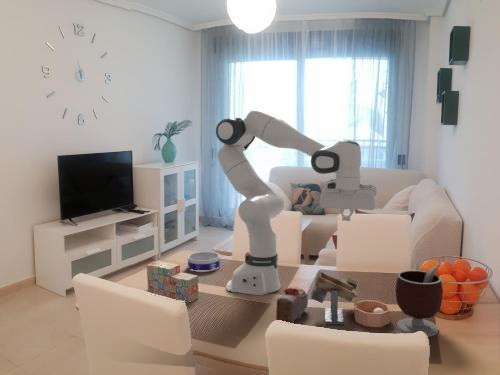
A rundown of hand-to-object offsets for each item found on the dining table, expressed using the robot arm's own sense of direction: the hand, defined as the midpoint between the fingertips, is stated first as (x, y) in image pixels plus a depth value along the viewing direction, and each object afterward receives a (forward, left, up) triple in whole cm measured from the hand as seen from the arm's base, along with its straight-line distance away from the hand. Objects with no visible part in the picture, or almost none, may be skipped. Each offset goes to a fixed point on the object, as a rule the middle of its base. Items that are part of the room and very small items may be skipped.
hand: (346, 220), depth 158 cm
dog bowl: (-65, +30, -31) cm, 78 cm away
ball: (+10, -19, -28) cm, 35 cm away
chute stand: (-5, -19, -30) cm, 36 cm away
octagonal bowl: (+8, -19, -30) cm, 36 cm away
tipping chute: (-6, -13, -25) cm, 29 cm away
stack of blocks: (-67, -6, -31) cm, 74 cm away
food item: (-19, -19, -31) cm, 41 cm away
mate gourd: (+22, -23, -31) cm, 44 cm away
